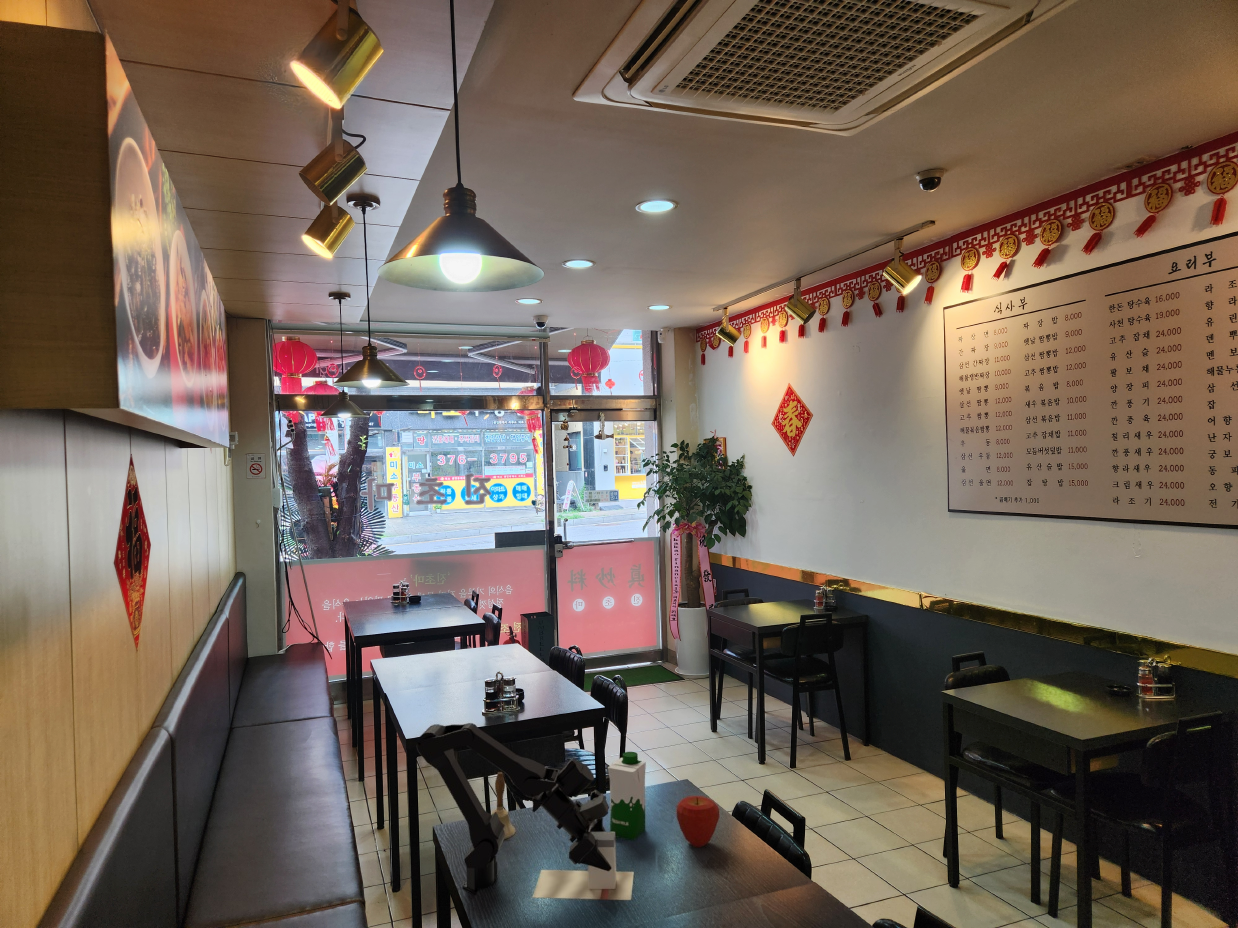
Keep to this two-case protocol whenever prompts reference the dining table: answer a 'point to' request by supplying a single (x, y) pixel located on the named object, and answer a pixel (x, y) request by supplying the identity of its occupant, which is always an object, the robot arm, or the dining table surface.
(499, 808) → the hand bell
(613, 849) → the white slab
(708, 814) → the apple
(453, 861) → the dining table surface
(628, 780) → the milk carton
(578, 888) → the board
